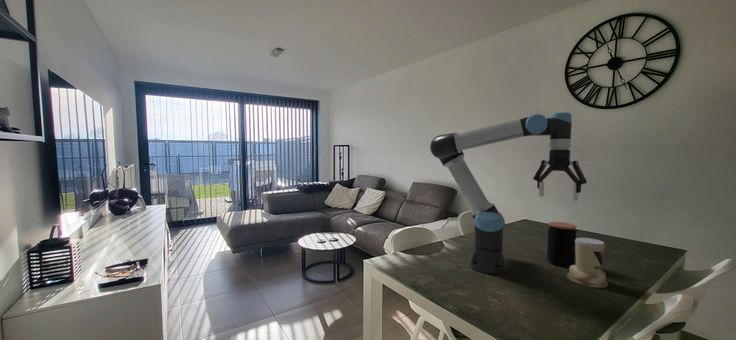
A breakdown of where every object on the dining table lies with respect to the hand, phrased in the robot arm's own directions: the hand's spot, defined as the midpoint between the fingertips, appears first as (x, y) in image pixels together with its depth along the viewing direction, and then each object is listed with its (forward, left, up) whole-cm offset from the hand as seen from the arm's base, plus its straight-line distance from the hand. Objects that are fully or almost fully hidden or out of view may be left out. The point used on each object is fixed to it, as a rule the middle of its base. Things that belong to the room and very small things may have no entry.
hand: (557, 198), depth 126 cm
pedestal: (+10, -9, -31) cm, 34 cm away
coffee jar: (+3, +8, -31) cm, 32 cm away
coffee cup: (+10, -9, -27) cm, 30 cm away
